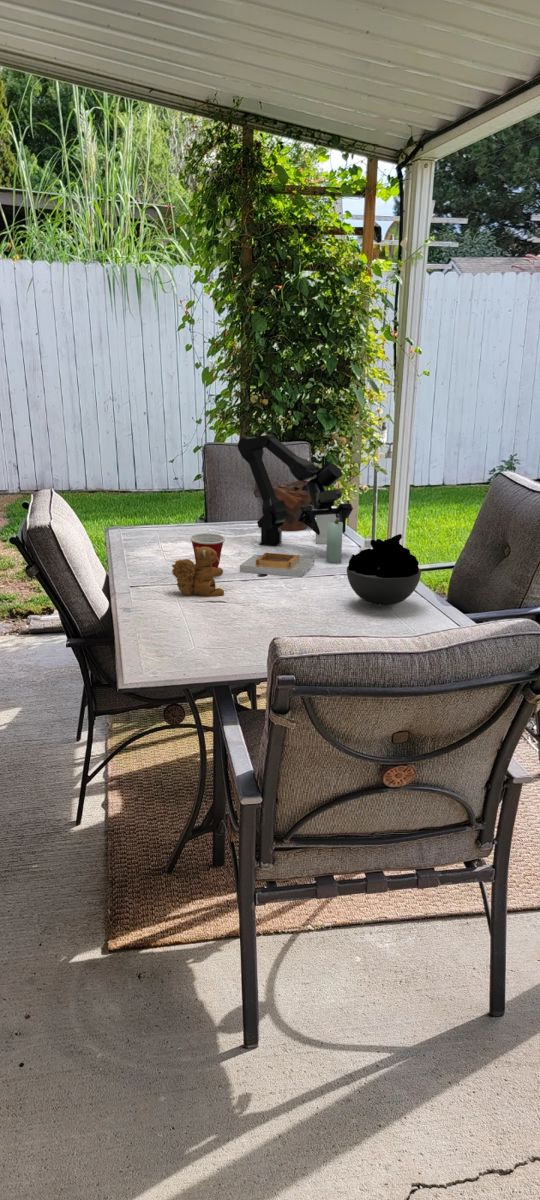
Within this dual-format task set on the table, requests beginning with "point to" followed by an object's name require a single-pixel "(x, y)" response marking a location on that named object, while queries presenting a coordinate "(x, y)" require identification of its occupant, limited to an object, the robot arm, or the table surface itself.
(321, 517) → the supplement box
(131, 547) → the table surface
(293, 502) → the brown wooden pot
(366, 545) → the eye dropper bottle
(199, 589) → the stuffed squirrel
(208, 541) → the plastic cup
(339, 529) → the spout can
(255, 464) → the robot arm
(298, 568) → the grey flat block
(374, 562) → the coal bowl
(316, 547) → the table surface
